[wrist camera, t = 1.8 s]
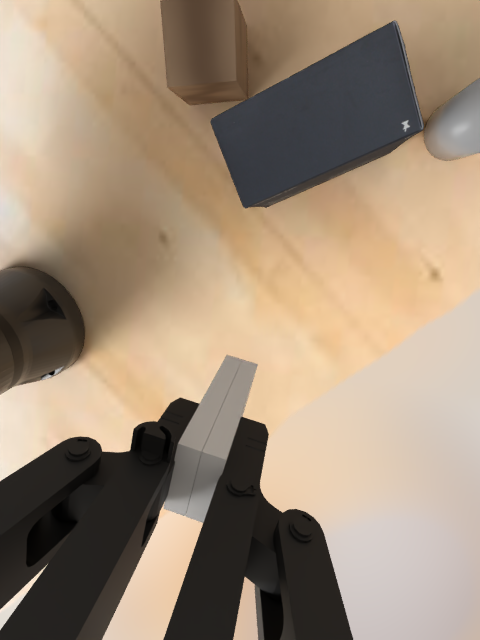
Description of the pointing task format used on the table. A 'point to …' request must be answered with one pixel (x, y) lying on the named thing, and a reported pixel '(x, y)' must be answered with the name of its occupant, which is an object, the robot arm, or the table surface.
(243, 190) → the small box
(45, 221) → the table surface
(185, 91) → the walnut cube
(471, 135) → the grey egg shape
